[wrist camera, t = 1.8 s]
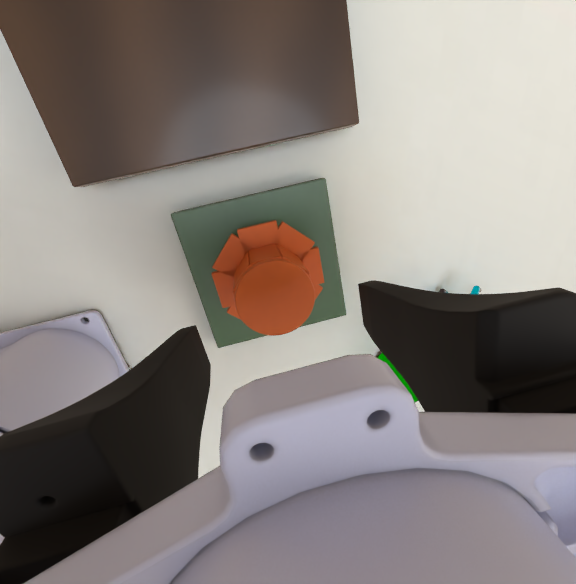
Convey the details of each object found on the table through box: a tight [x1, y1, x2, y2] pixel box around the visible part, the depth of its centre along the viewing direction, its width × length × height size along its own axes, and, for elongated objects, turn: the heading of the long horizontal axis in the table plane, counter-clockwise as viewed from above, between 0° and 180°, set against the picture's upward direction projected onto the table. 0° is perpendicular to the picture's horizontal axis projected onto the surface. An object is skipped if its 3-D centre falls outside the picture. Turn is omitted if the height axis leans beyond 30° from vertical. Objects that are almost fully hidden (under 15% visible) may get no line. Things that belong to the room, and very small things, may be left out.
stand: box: [0, 0, 359, 187], centre depth 15 cm, size 16×11×2 cm
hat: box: [212, 220, 324, 335], centre depth 17 cm, size 7×7×4 cm
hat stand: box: [171, 178, 346, 348], centre depth 19 cm, size 10×10×6 cm
